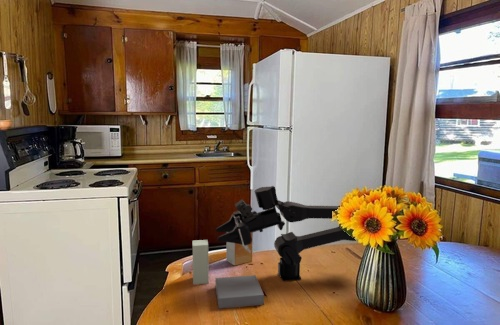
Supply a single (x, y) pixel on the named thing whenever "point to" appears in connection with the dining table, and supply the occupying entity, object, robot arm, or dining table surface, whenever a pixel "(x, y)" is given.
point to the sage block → (200, 262)
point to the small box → (239, 252)
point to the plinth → (238, 291)
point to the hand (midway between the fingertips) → (216, 234)
